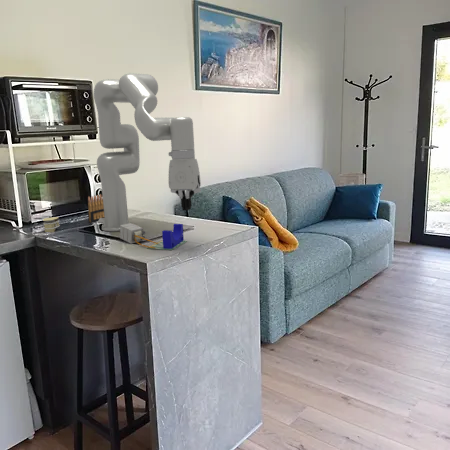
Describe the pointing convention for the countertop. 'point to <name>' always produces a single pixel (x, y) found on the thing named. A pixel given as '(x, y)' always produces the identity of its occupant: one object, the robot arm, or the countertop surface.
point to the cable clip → (173, 236)
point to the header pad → (162, 246)
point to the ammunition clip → (95, 208)
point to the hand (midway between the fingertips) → (186, 209)
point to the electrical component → (133, 234)
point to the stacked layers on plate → (51, 224)
